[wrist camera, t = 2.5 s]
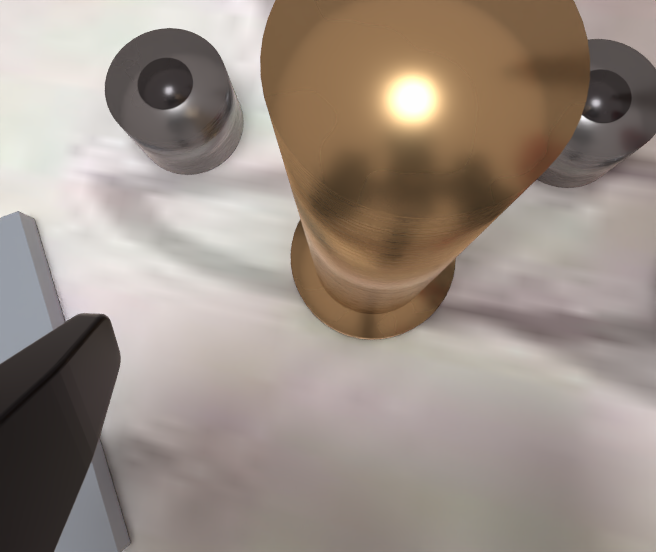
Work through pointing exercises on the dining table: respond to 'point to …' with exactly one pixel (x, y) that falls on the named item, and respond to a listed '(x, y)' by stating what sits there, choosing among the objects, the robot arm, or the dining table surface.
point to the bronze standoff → (412, 138)
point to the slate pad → (22, 330)
